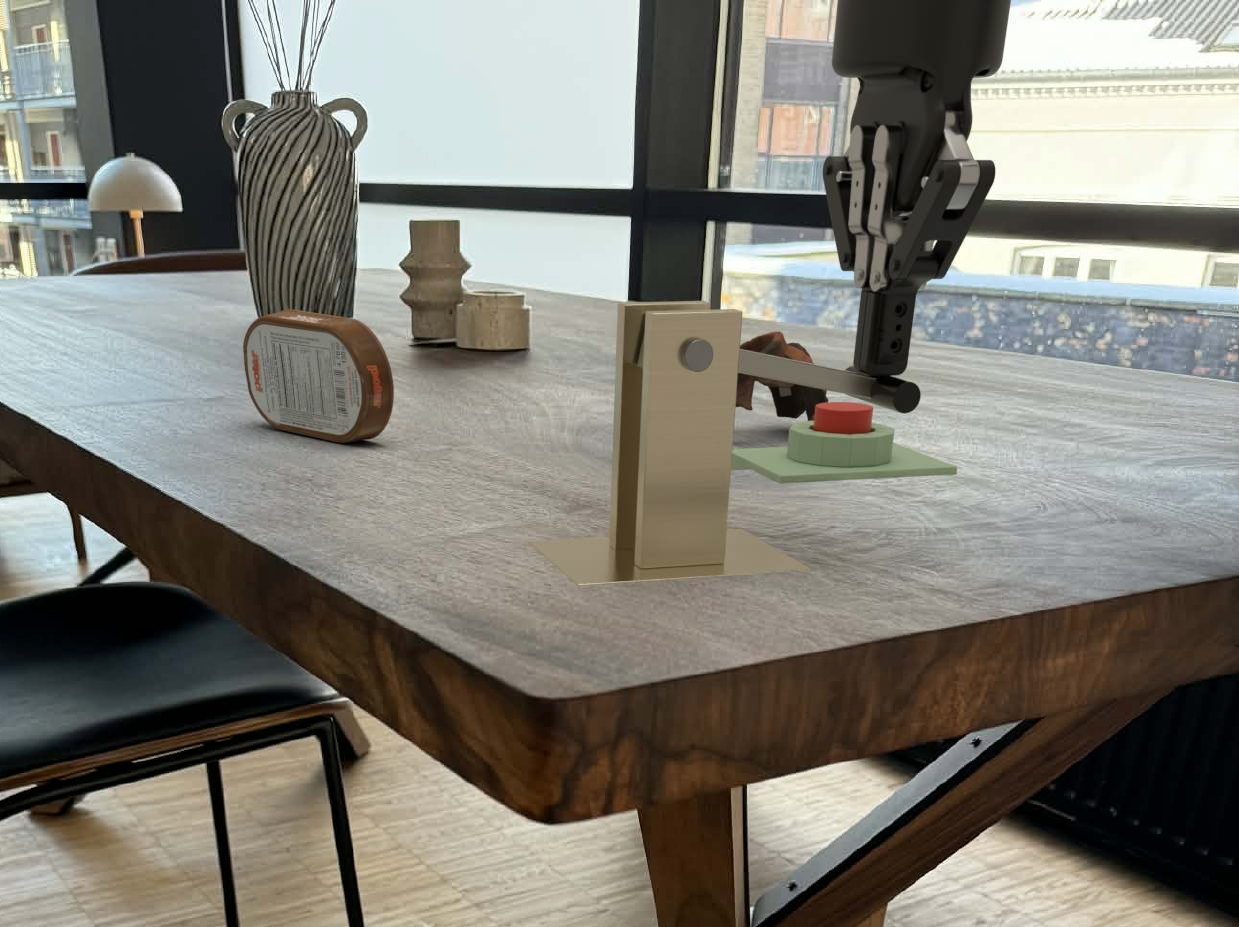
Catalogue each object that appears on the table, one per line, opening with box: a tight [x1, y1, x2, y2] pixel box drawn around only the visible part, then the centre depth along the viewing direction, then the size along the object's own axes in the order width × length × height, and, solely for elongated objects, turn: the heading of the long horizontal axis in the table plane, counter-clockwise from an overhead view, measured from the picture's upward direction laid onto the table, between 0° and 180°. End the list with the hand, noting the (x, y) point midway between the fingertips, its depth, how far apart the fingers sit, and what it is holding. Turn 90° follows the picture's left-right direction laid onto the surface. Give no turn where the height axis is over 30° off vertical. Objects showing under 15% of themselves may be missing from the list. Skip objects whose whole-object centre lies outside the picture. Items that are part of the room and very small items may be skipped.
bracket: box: [527, 300, 813, 587], centre depth 74 cm, size 12×9×13 cm
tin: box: [242, 308, 395, 444], centre depth 111 cm, size 15×3×8 cm, turn 44°
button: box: [813, 401, 874, 434], centre depth 96 cm, size 4×4×2 cm
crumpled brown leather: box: [736, 331, 829, 421], centre depth 113 cm, size 12×10×8 cm
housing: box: [731, 420, 958, 484], centre depth 97 cm, size 12×9×4 cm
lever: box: [637, 332, 922, 415], centre depth 73 cm, size 13×6×2 cm, turn 104°
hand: (878, 372), depth 75 cm, fingers closed
